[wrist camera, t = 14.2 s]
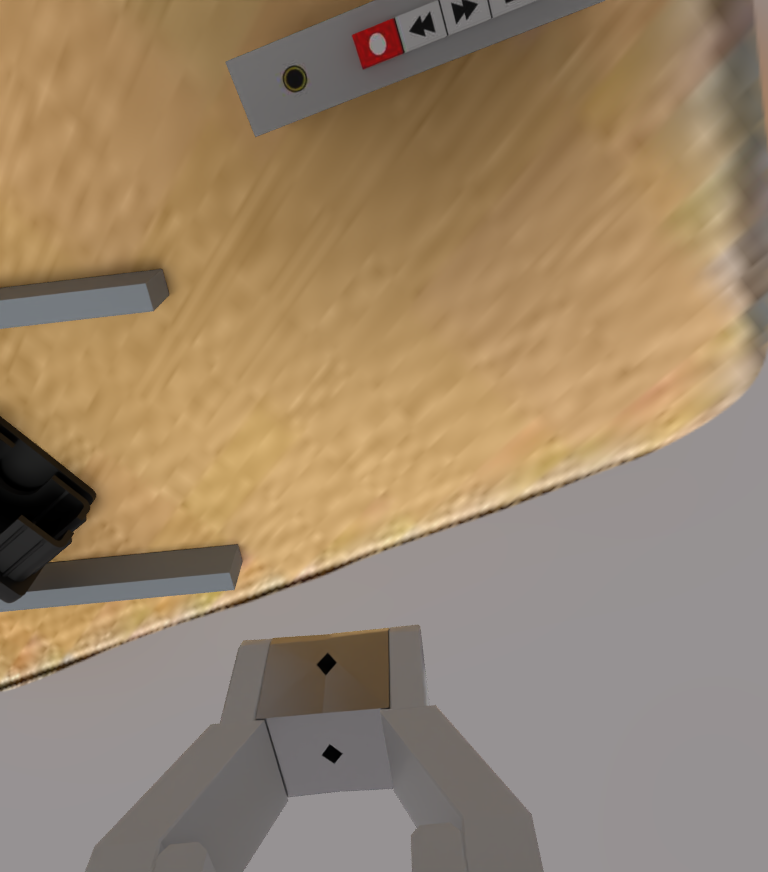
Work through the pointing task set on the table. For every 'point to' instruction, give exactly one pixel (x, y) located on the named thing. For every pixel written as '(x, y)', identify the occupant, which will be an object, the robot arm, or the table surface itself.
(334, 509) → the table surface
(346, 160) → the table surface
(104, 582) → the u-shaped frame
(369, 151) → the table surface
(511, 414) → the table surface
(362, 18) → the cassette player
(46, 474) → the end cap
